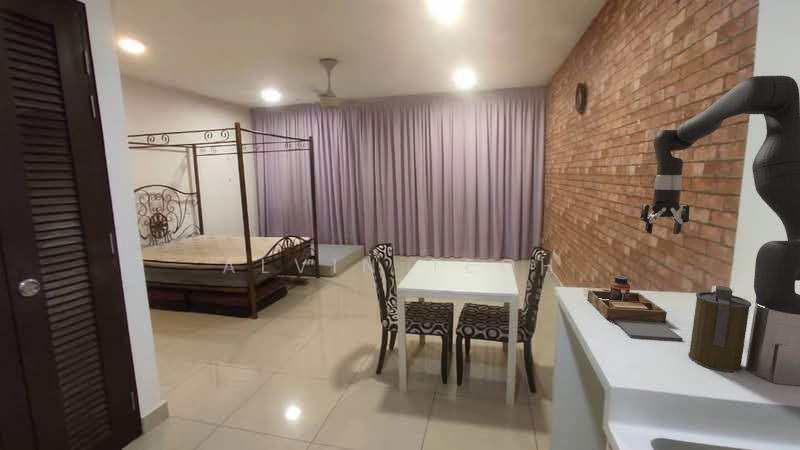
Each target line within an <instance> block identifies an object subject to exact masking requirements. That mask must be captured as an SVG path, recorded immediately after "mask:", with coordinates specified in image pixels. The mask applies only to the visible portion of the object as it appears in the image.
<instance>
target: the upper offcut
mask: <svg viewBox="0 0 800 450" xmlns="http://www.w3.org/2000/svg"><path fill="white" fill-rule="evenodd" d="M609 308H618V309H637V310H648V308H647V307H646V306H644V305H643V304H641V303H629V302H609Z"/></svg>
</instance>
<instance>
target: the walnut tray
mask: <svg viewBox="0 0 800 450" xmlns="http://www.w3.org/2000/svg"><path fill="white" fill-rule="evenodd" d="M599 298H602V299H609V300H600V299H599ZM587 302H589V304H590V305H592V306H593V308H594V309H595V310H596V311H597V312H599V313H600V314H601V316H602V317H603V318H604V319H605V320H607V321H615V320H629V321H646V322H662V323H663V324H664V325H666V323H667V315H668V314H667V311H666V310H665V309H663V308H662V307H660V306H659V305H657V304H656V303H655V302H653V301H651V300H650V299H648V298H647V297H645V296H644V295H643V294H642V293H640V292H634V291H633V292H632V291H630V294H629V301H617V300H610V291H608V290H588V291H587ZM609 302H629V303H641V304H643V305H644V306H646V307H647V308H648V310H637V309H618V308H609Z"/></svg>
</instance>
